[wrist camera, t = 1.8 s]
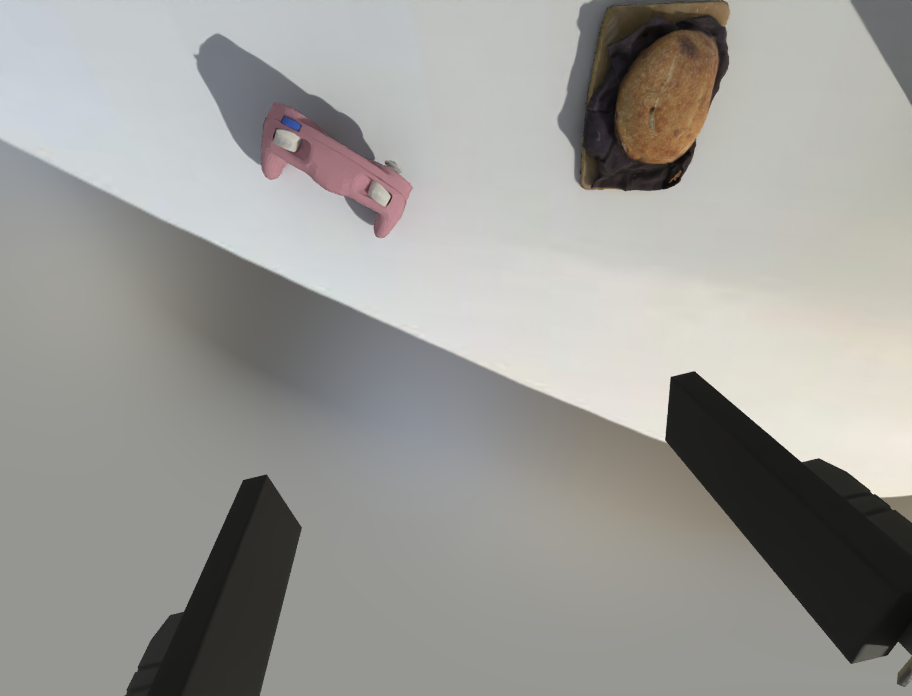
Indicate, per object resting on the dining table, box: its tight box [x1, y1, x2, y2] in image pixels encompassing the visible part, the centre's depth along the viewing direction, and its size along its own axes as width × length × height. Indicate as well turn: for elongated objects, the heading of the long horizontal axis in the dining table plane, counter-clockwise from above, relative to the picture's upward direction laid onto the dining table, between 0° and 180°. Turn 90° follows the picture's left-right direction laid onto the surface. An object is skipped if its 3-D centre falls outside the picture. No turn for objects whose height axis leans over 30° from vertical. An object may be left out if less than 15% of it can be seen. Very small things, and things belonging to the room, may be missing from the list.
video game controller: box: [261, 102, 412, 238], centre depth 26 cm, size 10×5×7 cm, turn 59°
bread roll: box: [580, 0, 730, 191], centre depth 25 cm, size 11×8×4 cm
